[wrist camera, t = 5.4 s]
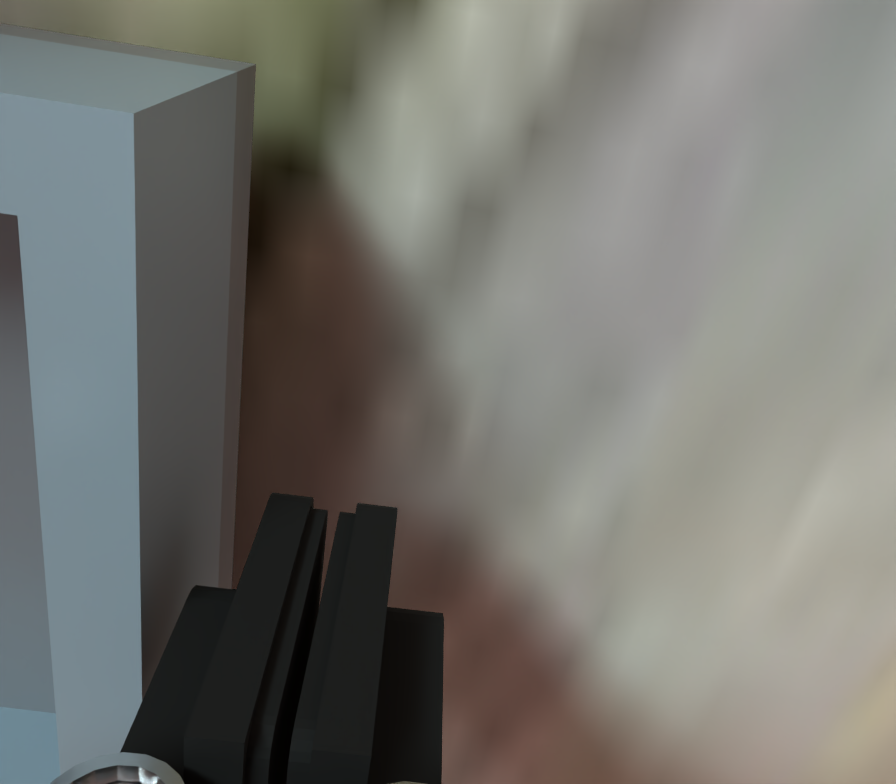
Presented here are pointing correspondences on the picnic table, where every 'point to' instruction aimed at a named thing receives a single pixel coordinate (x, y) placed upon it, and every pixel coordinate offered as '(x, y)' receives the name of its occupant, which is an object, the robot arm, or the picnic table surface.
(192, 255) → the grey square cubby
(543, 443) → the picnic table surface
